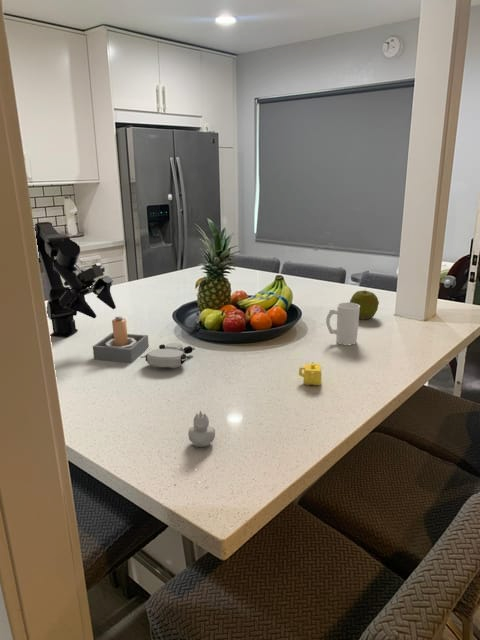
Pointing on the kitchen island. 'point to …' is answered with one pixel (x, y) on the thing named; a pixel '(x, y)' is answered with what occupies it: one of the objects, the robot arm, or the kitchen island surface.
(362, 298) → the apple
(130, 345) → the housing
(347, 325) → the mug
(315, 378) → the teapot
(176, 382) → the kitchen island surface
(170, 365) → the robot toy
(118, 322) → the orange cylinder
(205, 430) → the grey potted plant
